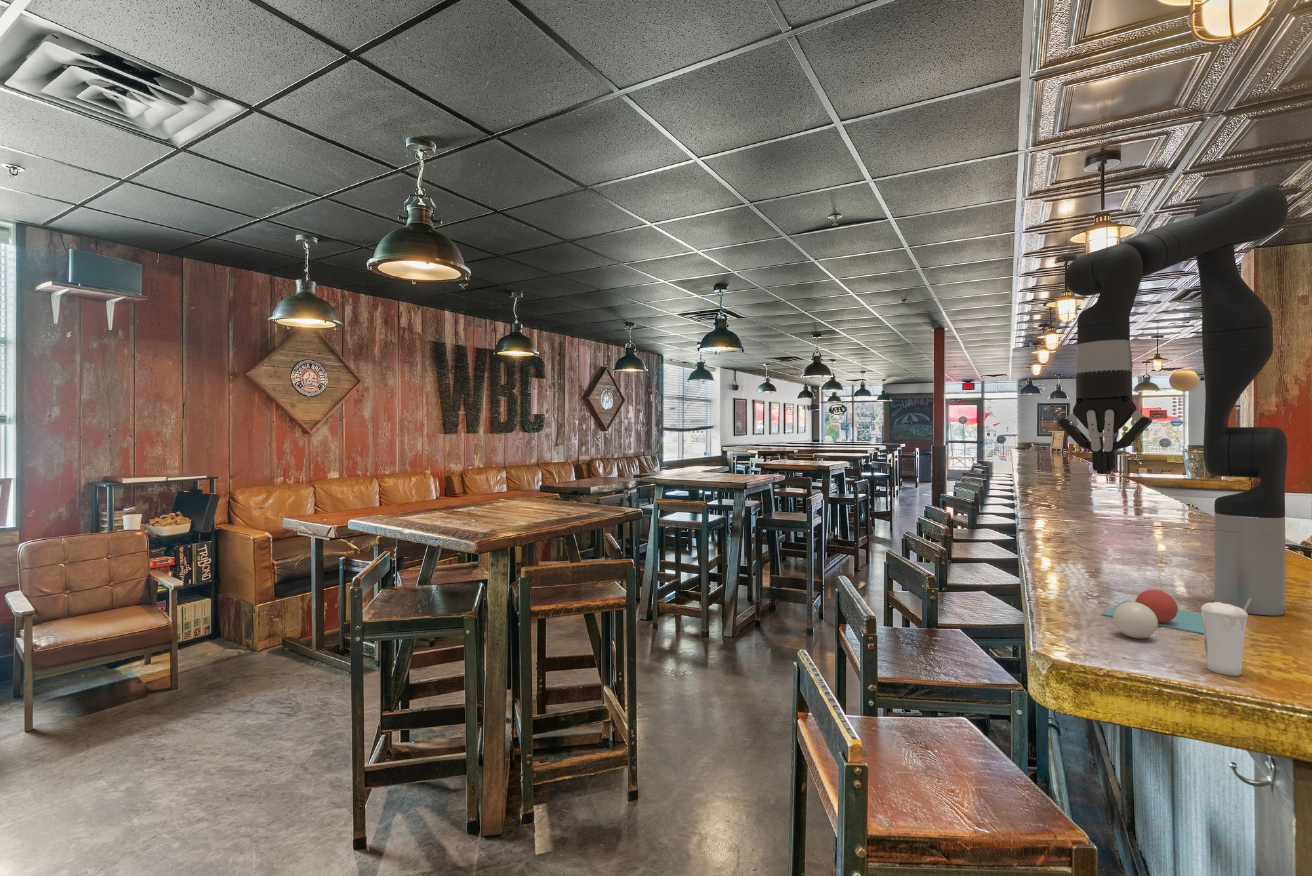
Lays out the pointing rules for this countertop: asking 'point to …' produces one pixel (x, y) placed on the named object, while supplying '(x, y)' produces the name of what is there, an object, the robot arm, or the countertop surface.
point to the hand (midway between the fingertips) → (1104, 473)
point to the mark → (1177, 620)
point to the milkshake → (1224, 636)
